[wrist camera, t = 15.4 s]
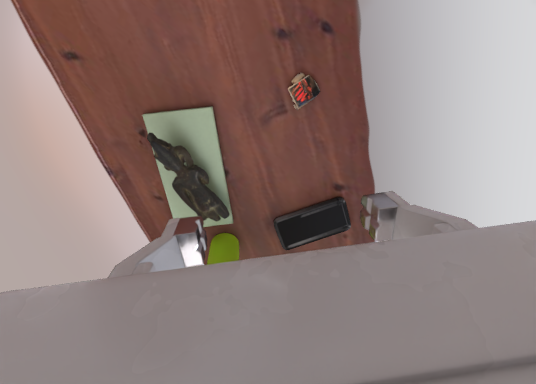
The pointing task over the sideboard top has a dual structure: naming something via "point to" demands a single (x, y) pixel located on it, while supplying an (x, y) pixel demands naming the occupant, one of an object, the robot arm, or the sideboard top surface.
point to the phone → (312, 223)
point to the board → (201, 150)
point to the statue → (189, 180)
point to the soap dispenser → (223, 249)
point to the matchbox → (303, 90)
